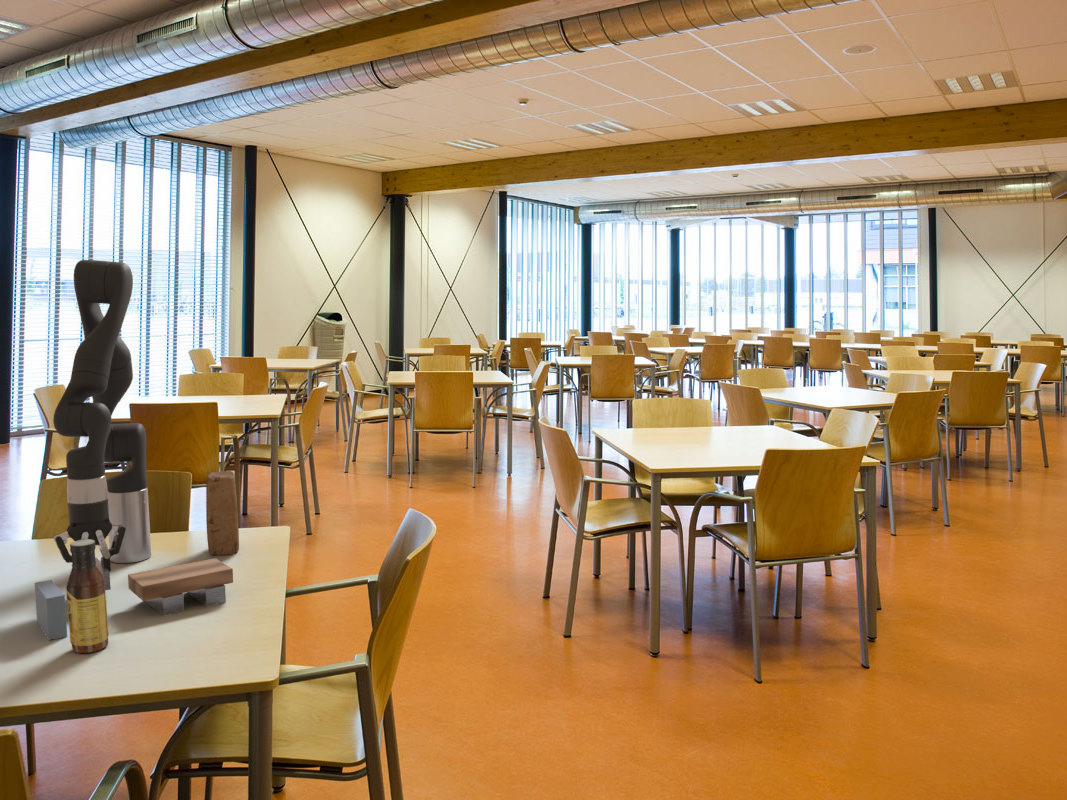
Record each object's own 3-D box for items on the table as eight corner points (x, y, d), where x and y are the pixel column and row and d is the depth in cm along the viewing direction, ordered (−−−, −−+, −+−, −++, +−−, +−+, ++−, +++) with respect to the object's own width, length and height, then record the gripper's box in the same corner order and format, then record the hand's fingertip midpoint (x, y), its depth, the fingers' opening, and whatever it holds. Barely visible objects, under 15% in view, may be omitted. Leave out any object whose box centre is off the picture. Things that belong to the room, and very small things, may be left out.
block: (239, 555, 218) (236, 475, 216) (207, 558, 215) (203, 477, 213) (239, 544, 228) (235, 468, 226) (208, 546, 225) (204, 470, 223)
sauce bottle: (79, 642, 162) (73, 536, 160) (115, 641, 162) (108, 535, 160) (64, 656, 155) (56, 546, 153) (100, 655, 156) (93, 545, 154)
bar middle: (144, 602, 184) (143, 584, 184) (163, 598, 187) (162, 580, 187) (164, 617, 176) (163, 598, 175) (184, 612, 178) (183, 593, 178)
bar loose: (77, 577, 188) (75, 560, 188) (97, 574, 191) (96, 557, 190) (89, 593, 179) (88, 575, 179) (110, 589, 182) (109, 571, 181)
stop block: (37, 622, 172) (34, 582, 171) (54, 618, 174) (51, 579, 173) (49, 640, 163) (46, 598, 162) (67, 636, 165) (64, 595, 164)
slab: (128, 588, 181) (127, 574, 181) (215, 571, 192) (215, 558, 192) (143, 601, 173) (142, 586, 173) (233, 582, 185) (232, 568, 185)
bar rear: (187, 593, 190) (186, 575, 190) (206, 589, 193) (205, 572, 192) (206, 608, 181) (205, 589, 180) (225, 604, 183) (225, 585, 183)
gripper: (120, 489, 190) (124, 566, 192) (46, 499, 181) (51, 579, 183) (129, 496, 184) (133, 575, 186) (52, 506, 175) (58, 589, 178)
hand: (92, 577), depth 185 cm, fingers closed on bar loose, 4 cm apart
